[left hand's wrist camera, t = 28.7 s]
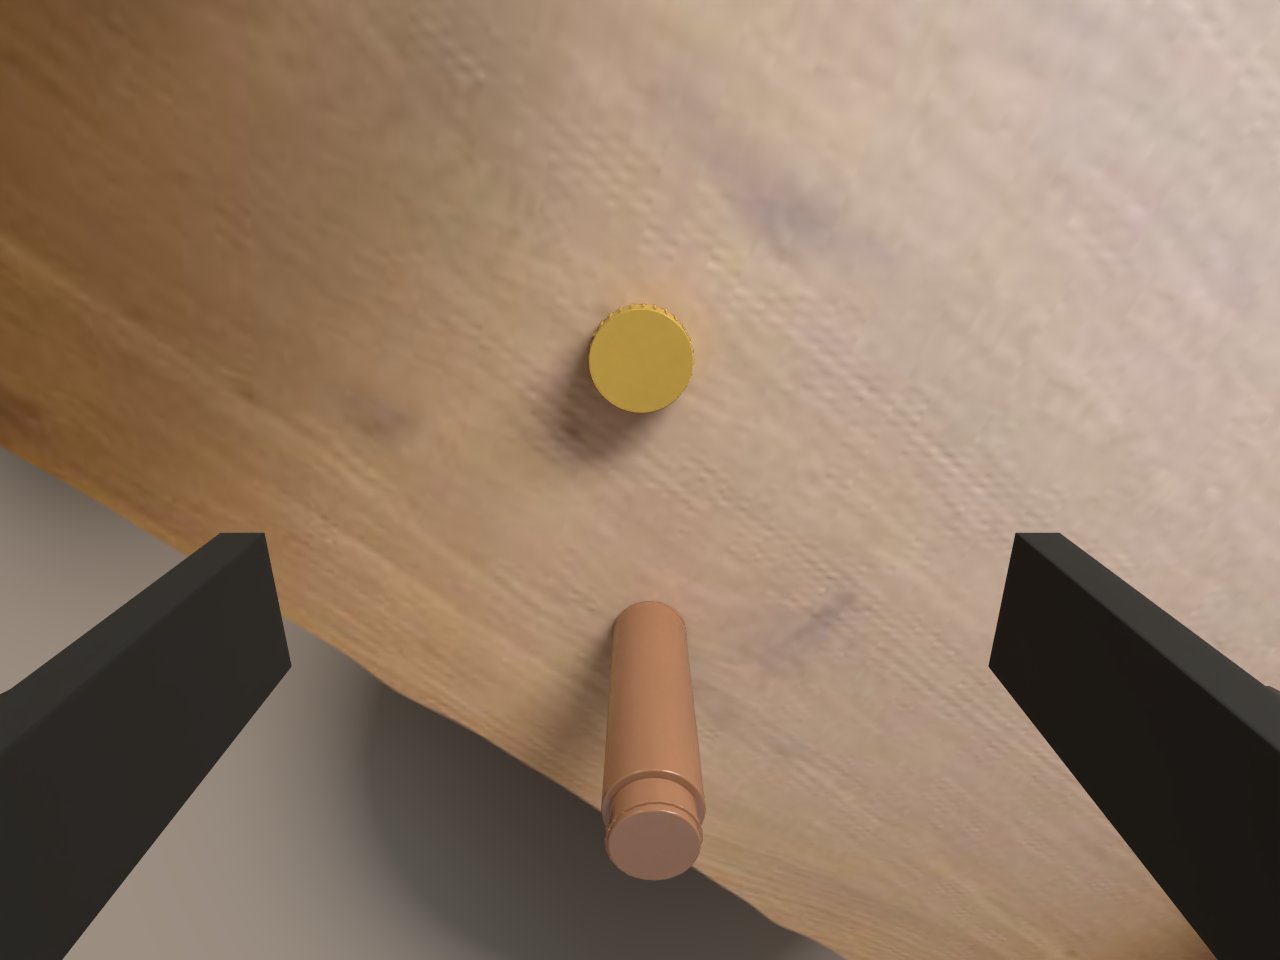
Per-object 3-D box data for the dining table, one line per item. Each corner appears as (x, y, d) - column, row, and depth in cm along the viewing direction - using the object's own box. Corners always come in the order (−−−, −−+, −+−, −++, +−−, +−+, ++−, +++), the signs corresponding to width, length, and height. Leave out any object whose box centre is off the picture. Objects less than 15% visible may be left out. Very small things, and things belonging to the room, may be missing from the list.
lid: (597, 295, 36) (595, 299, 34) (700, 311, 36) (703, 317, 35) (583, 396, 38) (580, 405, 36) (681, 411, 38) (684, 421, 36)
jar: (633, 589, 42) (630, 788, 27) (699, 619, 43) (730, 828, 28) (600, 646, 43) (580, 864, 29) (664, 674, 44) (676, 901, 29)
